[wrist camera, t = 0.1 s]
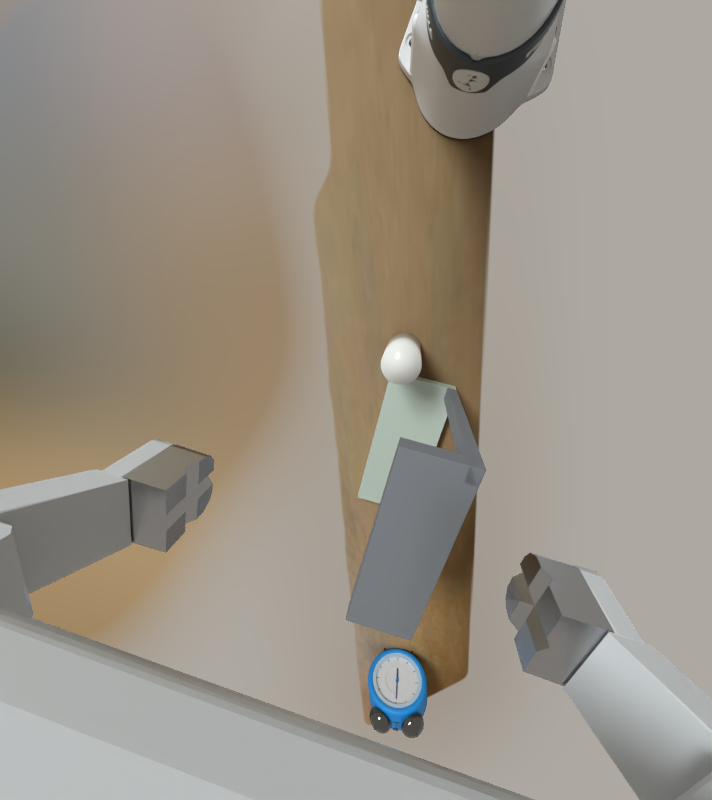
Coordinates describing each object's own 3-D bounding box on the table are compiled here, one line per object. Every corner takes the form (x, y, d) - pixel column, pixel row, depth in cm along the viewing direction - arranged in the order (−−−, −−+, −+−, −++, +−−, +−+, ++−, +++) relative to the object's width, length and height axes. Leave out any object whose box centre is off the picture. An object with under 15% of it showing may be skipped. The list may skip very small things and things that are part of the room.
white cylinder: (391, 328, 54) (386, 340, 43) (424, 336, 53) (426, 350, 43) (383, 360, 56) (376, 378, 46) (415, 368, 55) (415, 388, 45)
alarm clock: (425, 650, 79) (427, 729, 65) (426, 667, 81) (428, 747, 67) (371, 643, 81) (362, 719, 67) (373, 660, 83) (365, 737, 69)
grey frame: (391, 369, 56) (374, 439, 32) (455, 386, 55) (486, 470, 31) (359, 490, 66) (326, 613, 42) (412, 506, 65) (411, 640, 41)
